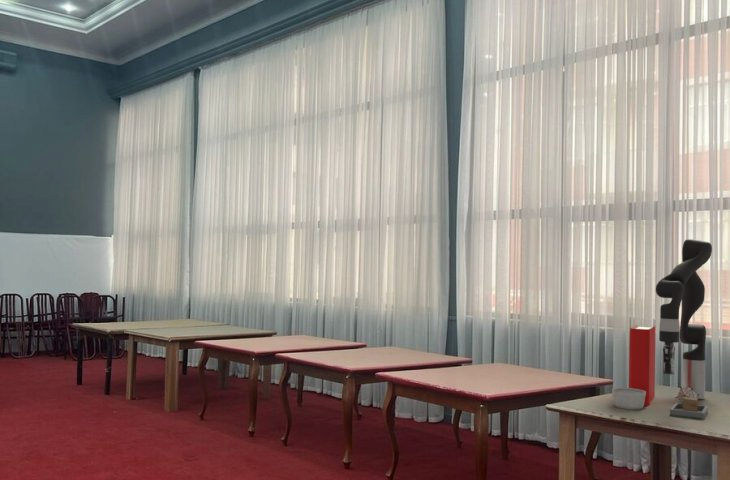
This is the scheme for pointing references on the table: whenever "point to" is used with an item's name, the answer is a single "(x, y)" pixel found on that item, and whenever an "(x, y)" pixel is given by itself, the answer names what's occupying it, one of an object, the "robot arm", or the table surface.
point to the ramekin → (628, 398)
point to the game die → (686, 393)
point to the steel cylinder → (671, 366)
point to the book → (642, 361)
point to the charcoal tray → (688, 412)
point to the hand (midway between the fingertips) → (668, 372)
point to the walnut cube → (690, 404)
